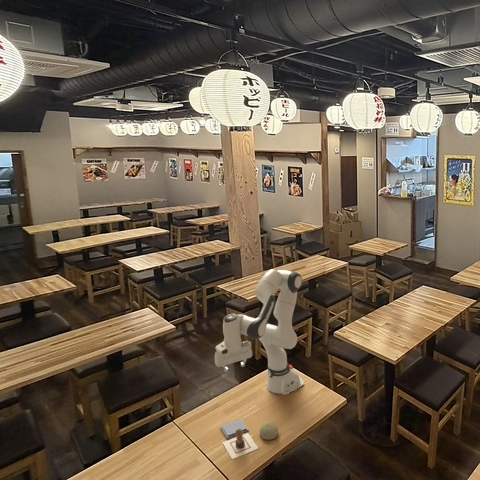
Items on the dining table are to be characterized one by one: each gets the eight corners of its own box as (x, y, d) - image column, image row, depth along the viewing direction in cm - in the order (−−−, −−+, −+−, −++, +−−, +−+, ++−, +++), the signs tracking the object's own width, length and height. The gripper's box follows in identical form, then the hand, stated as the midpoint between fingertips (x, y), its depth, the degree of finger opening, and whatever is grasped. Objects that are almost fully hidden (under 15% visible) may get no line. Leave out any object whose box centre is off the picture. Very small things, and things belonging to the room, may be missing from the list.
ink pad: (241, 420, 214) (241, 418, 214) (248, 431, 206) (248, 428, 206) (220, 428, 209) (220, 425, 209) (227, 439, 201) (226, 436, 201)
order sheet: (247, 433, 205) (247, 432, 205) (258, 448, 194) (258, 448, 194) (222, 442, 199) (222, 442, 199) (231, 459, 189) (231, 458, 189)
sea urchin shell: (255, 429, 204) (264, 416, 205) (265, 434, 208) (274, 422, 209) (262, 441, 196) (272, 427, 197) (273, 446, 200) (283, 433, 200)
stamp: (242, 440, 199) (241, 425, 197) (246, 446, 195) (245, 431, 193) (234, 444, 198) (233, 428, 195) (237, 450, 194) (236, 434, 191)
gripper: (248, 337, 213) (249, 360, 217) (212, 347, 205) (214, 371, 209) (253, 342, 208) (255, 366, 211) (216, 353, 200) (219, 377, 203)
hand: (234, 368), depth 210 cm, fingers open, 8 cm apart
